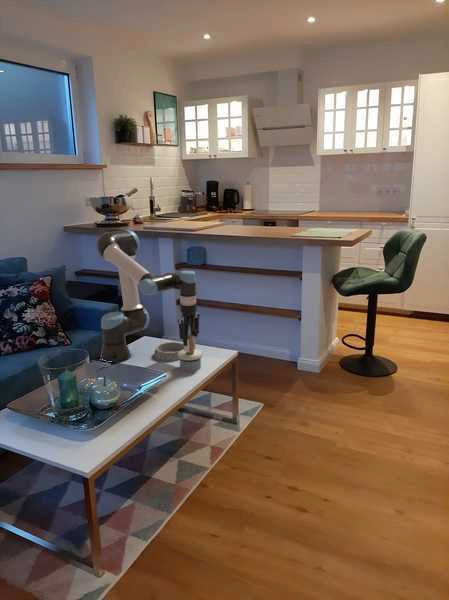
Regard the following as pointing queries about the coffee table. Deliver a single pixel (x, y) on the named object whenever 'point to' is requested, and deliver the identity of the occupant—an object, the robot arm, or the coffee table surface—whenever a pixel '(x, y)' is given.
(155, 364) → the mat
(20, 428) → the coffee table surface
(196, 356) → the cover
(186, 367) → the bowl
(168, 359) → the dog bowl
